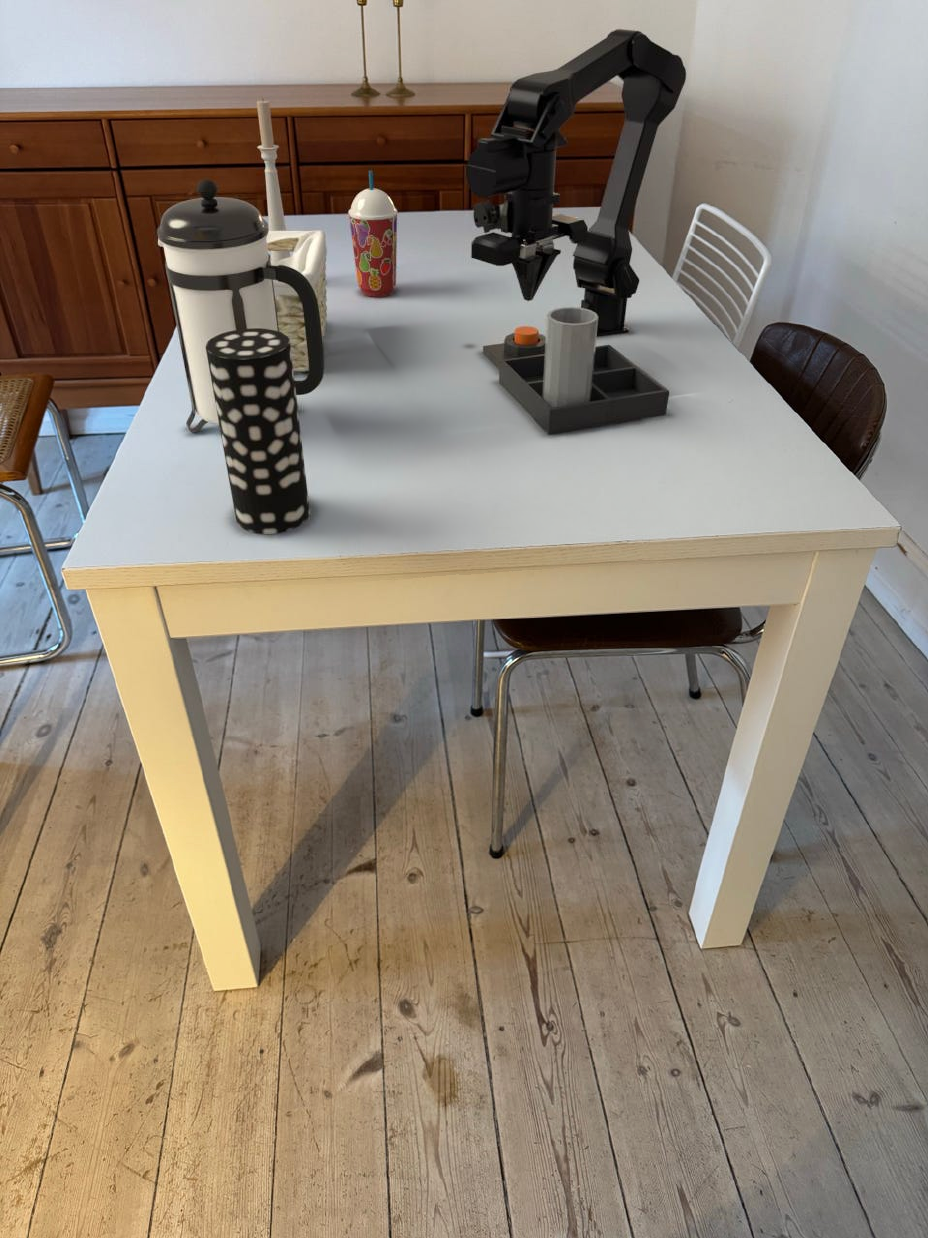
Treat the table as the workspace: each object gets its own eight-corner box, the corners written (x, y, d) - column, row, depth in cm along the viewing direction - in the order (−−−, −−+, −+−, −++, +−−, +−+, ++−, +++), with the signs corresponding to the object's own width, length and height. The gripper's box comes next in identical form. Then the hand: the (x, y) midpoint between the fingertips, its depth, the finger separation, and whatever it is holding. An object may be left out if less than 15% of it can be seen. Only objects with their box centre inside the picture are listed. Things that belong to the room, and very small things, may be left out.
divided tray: (607, 367, 138) (609, 344, 135) (666, 414, 125) (669, 390, 122) (498, 383, 133) (499, 359, 131) (548, 434, 120) (549, 409, 118)
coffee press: (199, 458, 114) (149, 202, 96) (177, 407, 126) (129, 170, 108) (332, 433, 120) (309, 187, 101) (299, 387, 131) (274, 158, 113)
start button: (532, 335, 140) (533, 324, 139) (541, 344, 138) (542, 332, 137) (510, 338, 139) (511, 327, 138) (519, 347, 137) (520, 335, 136)
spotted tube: (240, 497, 107) (211, 329, 95) (311, 494, 107) (292, 327, 95) (231, 535, 100) (200, 360, 88) (308, 532, 101) (286, 357, 89)
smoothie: (407, 287, 166) (403, 167, 154) (390, 301, 160) (383, 178, 148) (365, 282, 169) (358, 163, 156) (346, 296, 162) (337, 174, 150)
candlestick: (241, 278, 170) (215, 94, 152) (308, 269, 174) (290, 90, 156) (257, 299, 161) (231, 106, 143) (327, 290, 165) (311, 101, 147)
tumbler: (559, 396, 127) (565, 303, 120) (598, 409, 124) (607, 314, 116) (532, 412, 124) (537, 316, 116) (572, 425, 120) (579, 328, 112)
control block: (547, 344, 145) (548, 326, 143) (569, 363, 139) (570, 344, 137) (482, 353, 142) (483, 334, 140) (501, 373, 136) (502, 353, 134)
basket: (239, 320, 153) (225, 227, 144) (336, 319, 153) (328, 227, 144) (211, 378, 134) (192, 276, 125) (322, 377, 134) (311, 275, 125)
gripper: (535, 165, 135) (530, 273, 144) (443, 186, 124) (444, 301, 134) (594, 178, 128) (585, 290, 138) (502, 201, 118) (498, 320, 128)
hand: (528, 299), depth 135 cm, fingers closed
